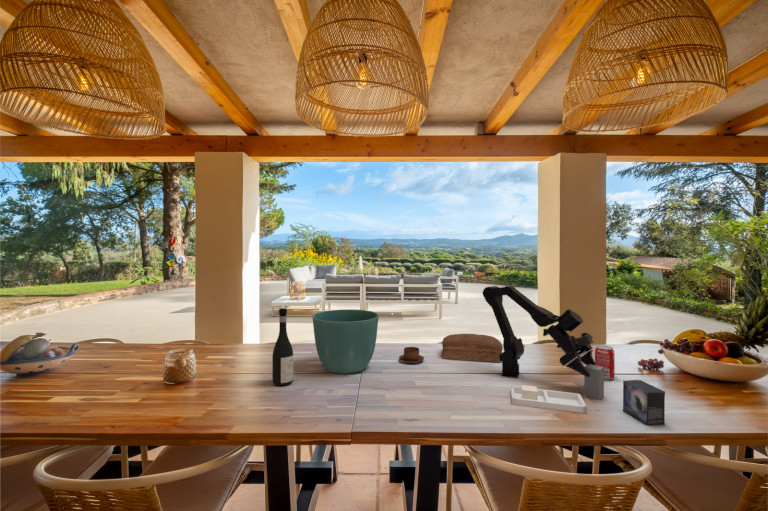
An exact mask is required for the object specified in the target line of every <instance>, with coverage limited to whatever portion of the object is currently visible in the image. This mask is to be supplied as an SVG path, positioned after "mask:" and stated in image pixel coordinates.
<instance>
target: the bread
mask: <svg viewBox="0 0 768 511" xmlns="http://www.w3.org/2000/svg"><path fill="white" fill-rule="evenodd" d="M441 346H442V351H441V356H442V359H444V360H453V361H454V360H457V361H459V360H460V361H471V362H484V361H486V362H488V363H499V364H500V363H501V364H502V361H500V358H499V355H501V354H502V353H503V350H504V347H503V344H502V342H501V341H500V340H499V339H497V338H496V337H494V336H491V335H488V334H487V335H486V334H476V333H455V334H449V335H447V336H445V337H443V339H442V342H441Z"/></svg>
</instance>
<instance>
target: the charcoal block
mask: <svg viewBox="0 0 768 511" xmlns="http://www.w3.org/2000/svg"><path fill="white" fill-rule="evenodd" d="M584 367H585V368H586V370H587V371H588V373H589V374H590V376H589V377H586V376H584V375H583V379H584V383H583V384H584V385H583V387H584V388H583V390H584V391H583V392H584V393H583V394H584V395H585V396H586V398H588V399H592V400H596V401H601V400H602V399H604V396H605V394H604V393H605V392H604V391H605V380H604V367H601V366H596V365H591V364H589V365H584Z"/></svg>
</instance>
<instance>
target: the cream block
mask: <svg viewBox="0 0 768 511" xmlns="http://www.w3.org/2000/svg"><path fill="white" fill-rule="evenodd" d="M521 387H522V399H531V400H538V391H537V389H538V387H537V386H533V385H524V384H521Z"/></svg>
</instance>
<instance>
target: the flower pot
mask: <svg viewBox="0 0 768 511" xmlns="http://www.w3.org/2000/svg"><path fill="white" fill-rule="evenodd" d="M311 317H312V327H313V336H314V342H315V347H316V348H315V349H316V353H317V355H318V359H319V361H320V363H321V364H322V366H323V367H324V369H326V371H327V372H330V373H334V374H344V375H345V374H346V375H347V374H354V373H355V374H356V373H358V372H362V371H363V370H365V369H366V368H367V367H368V365H369V364H370V362H371V360H372V357H373V355H374V353H375V347H376V344H377V343H376V342H377V337H378V325H379V313H377V312H375V311H371V310H365V309H333V310H326V311H319V312H317V313H314V314H313V315H312V316H311Z"/></svg>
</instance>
